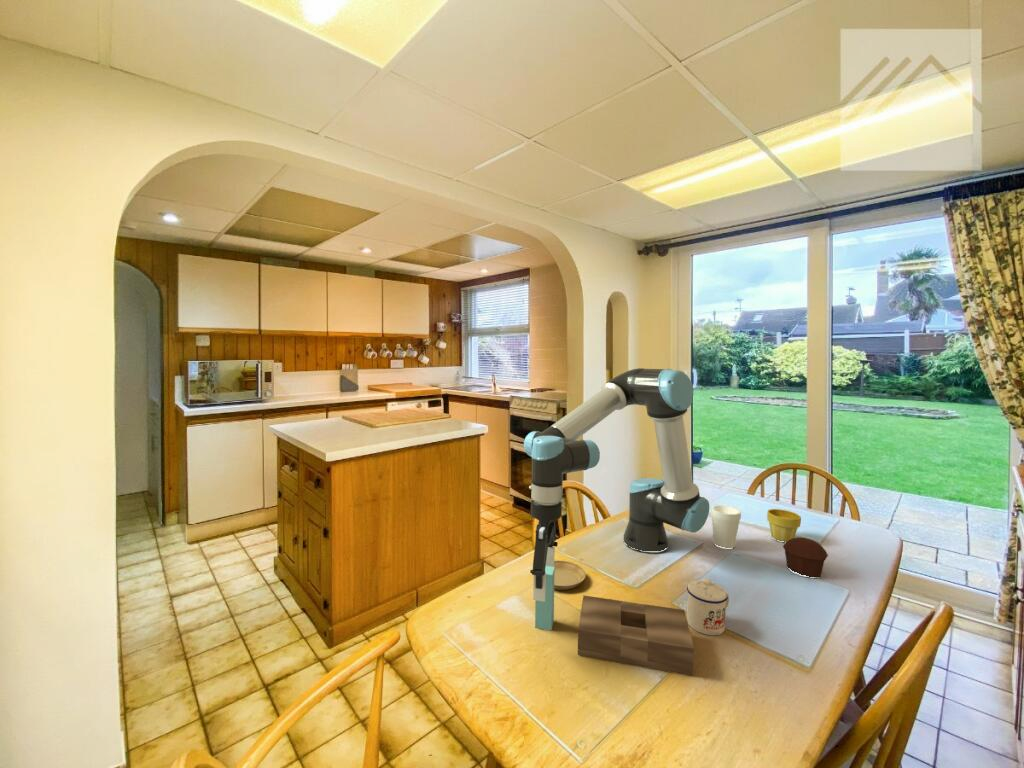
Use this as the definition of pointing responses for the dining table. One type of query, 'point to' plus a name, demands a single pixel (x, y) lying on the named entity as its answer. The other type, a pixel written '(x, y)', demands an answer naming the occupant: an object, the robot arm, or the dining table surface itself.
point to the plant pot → (783, 524)
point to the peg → (546, 603)
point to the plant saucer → (567, 575)
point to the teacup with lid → (706, 607)
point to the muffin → (805, 556)
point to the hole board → (636, 635)
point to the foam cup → (725, 525)
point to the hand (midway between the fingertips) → (544, 585)
